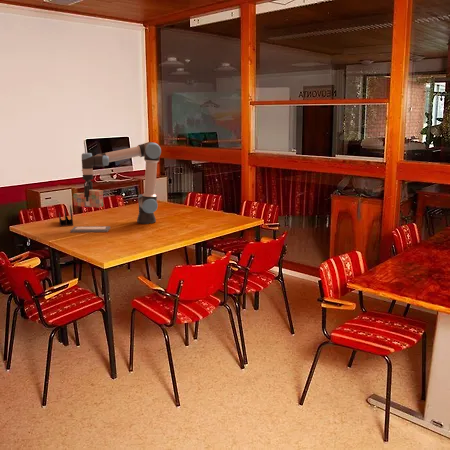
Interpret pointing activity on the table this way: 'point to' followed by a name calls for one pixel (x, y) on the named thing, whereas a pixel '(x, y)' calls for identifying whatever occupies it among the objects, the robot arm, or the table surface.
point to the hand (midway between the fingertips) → (89, 204)
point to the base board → (91, 229)
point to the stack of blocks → (94, 196)
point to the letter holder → (66, 219)
